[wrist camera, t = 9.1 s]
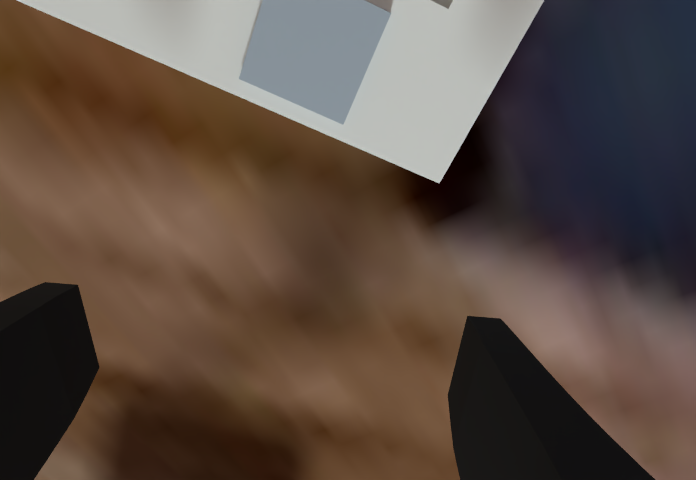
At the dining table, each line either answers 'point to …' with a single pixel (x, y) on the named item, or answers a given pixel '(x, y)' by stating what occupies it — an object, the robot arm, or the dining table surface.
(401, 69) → the socket block
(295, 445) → the dining table surface
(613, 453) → the robot arm
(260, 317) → the dining table surface
